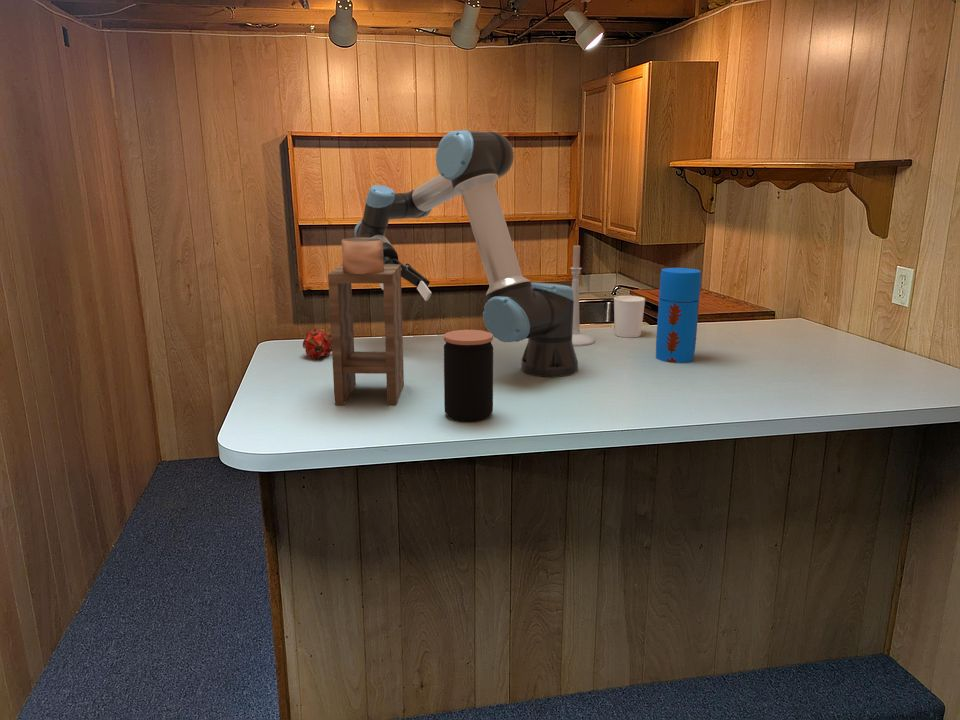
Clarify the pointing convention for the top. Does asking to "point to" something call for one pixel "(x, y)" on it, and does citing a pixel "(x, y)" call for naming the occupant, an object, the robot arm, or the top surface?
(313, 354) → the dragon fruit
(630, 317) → the white cup
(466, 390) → the coffee jar
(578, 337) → the candlestick
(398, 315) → the potting stand
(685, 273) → the thermos
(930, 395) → the top surface
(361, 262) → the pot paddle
